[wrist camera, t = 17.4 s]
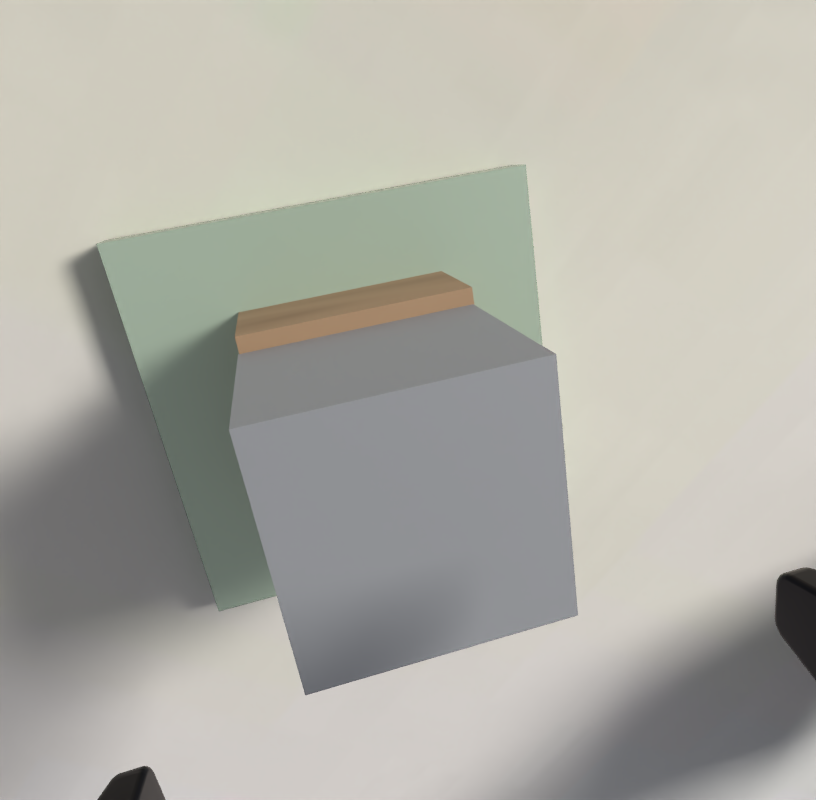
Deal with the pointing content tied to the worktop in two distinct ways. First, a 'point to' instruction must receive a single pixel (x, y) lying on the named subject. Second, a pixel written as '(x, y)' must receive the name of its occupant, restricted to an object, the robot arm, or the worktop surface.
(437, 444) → the slate block
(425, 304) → the walnut block
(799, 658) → the robot arm
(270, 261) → the baseplate
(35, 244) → the worktop surface
